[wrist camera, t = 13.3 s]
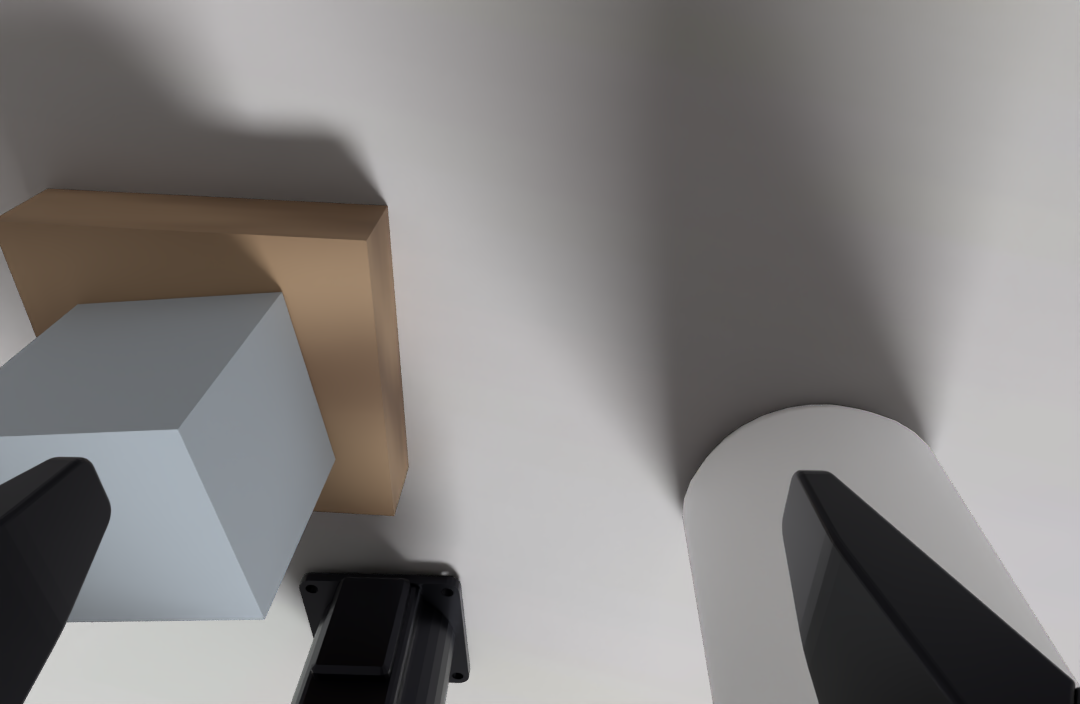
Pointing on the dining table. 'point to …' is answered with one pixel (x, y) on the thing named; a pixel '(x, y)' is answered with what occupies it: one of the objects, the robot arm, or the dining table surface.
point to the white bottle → (759, 554)
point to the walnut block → (243, 268)
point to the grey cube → (176, 448)
